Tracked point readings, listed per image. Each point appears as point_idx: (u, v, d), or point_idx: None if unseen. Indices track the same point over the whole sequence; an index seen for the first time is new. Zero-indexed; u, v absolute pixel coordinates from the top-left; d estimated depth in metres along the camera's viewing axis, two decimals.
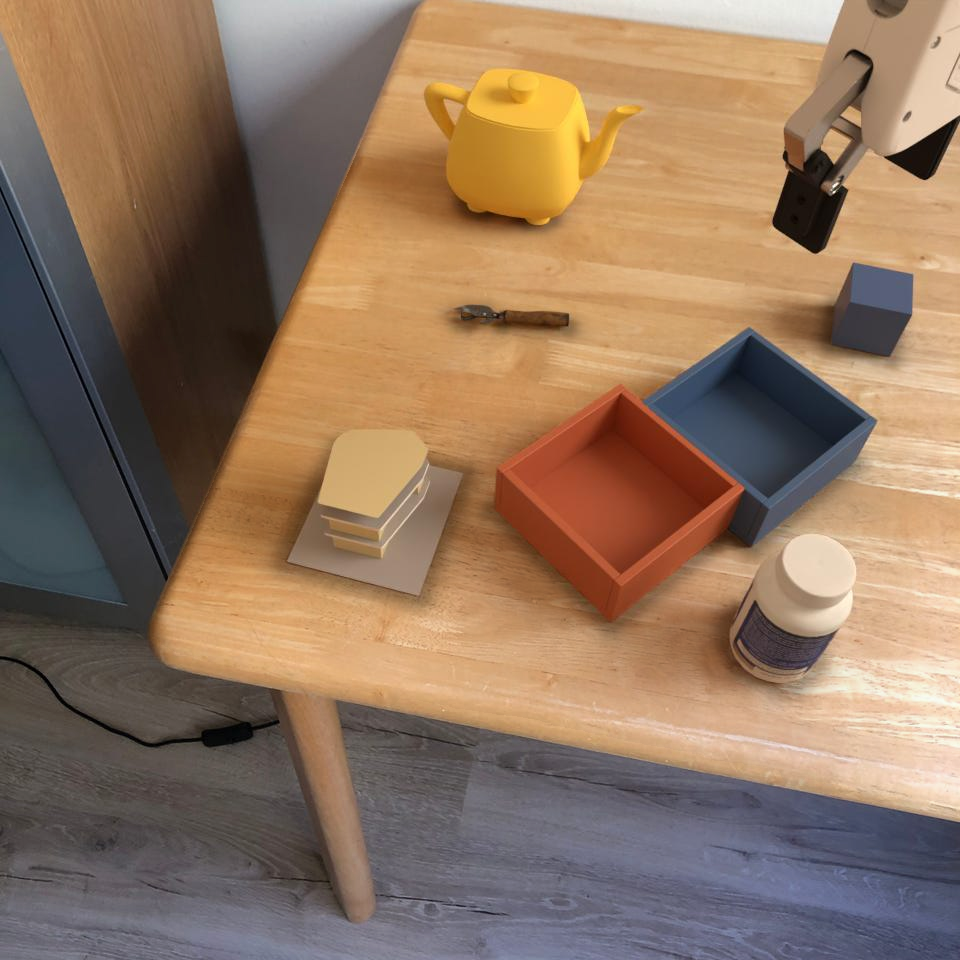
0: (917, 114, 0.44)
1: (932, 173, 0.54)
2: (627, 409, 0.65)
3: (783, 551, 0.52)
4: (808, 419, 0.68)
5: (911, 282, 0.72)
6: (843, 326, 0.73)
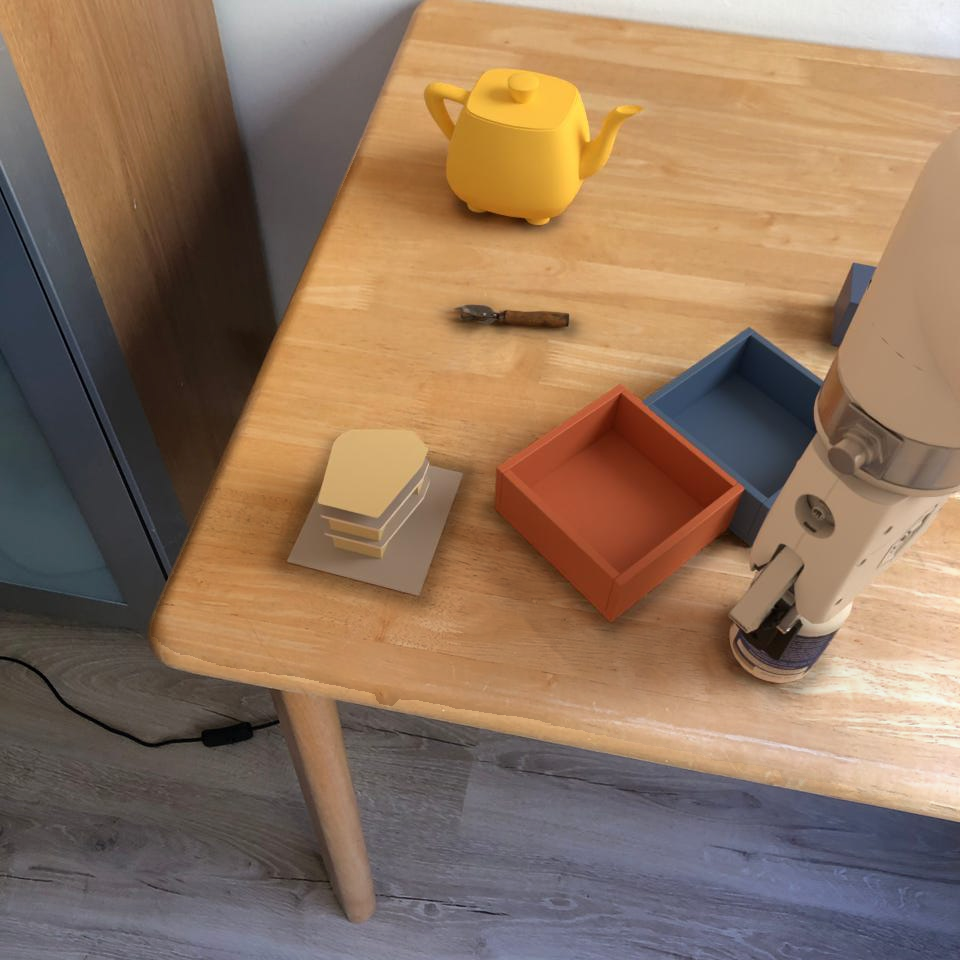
0: (848, 595, 0.46)
1: None
2: (627, 409, 0.65)
3: None
4: (808, 419, 0.68)
5: None
6: (843, 326, 0.73)
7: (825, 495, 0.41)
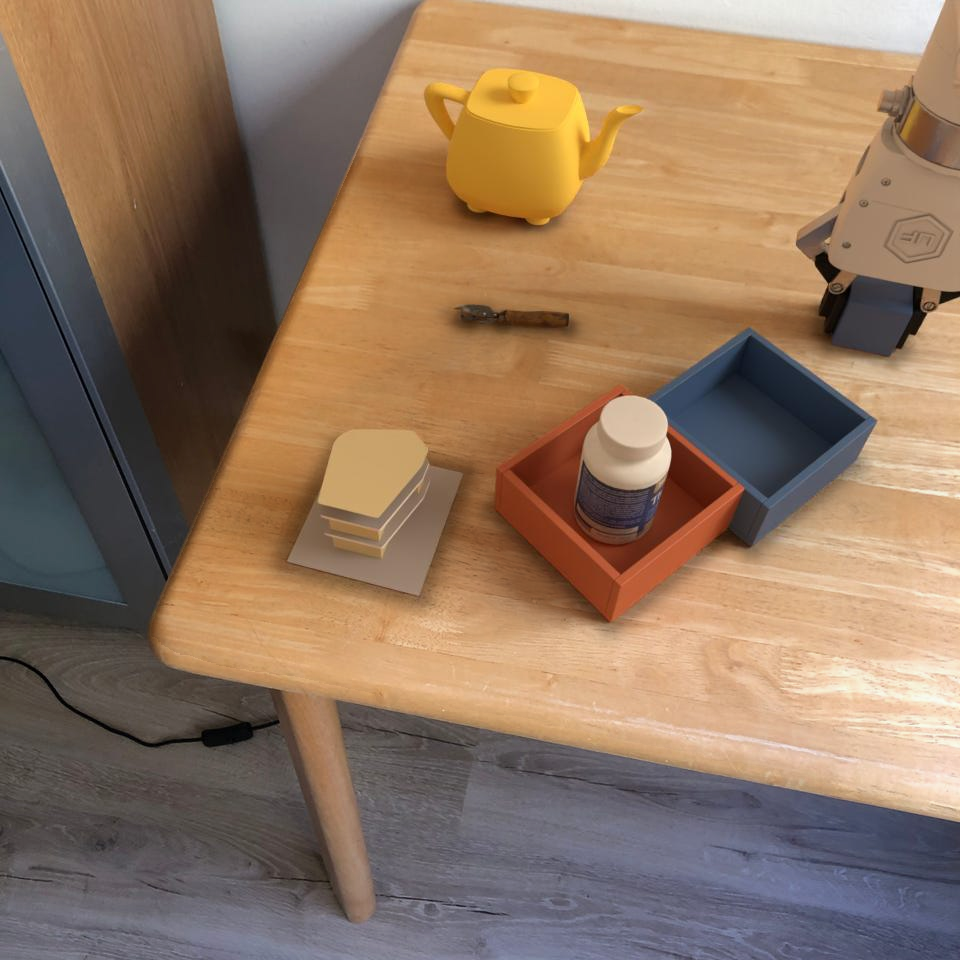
0: (857, 250, 0.67)
1: (897, 345, 0.74)
2: None
3: (602, 410, 0.57)
4: (808, 419, 0.68)
5: None
6: (843, 326, 0.73)
7: (872, 143, 0.63)
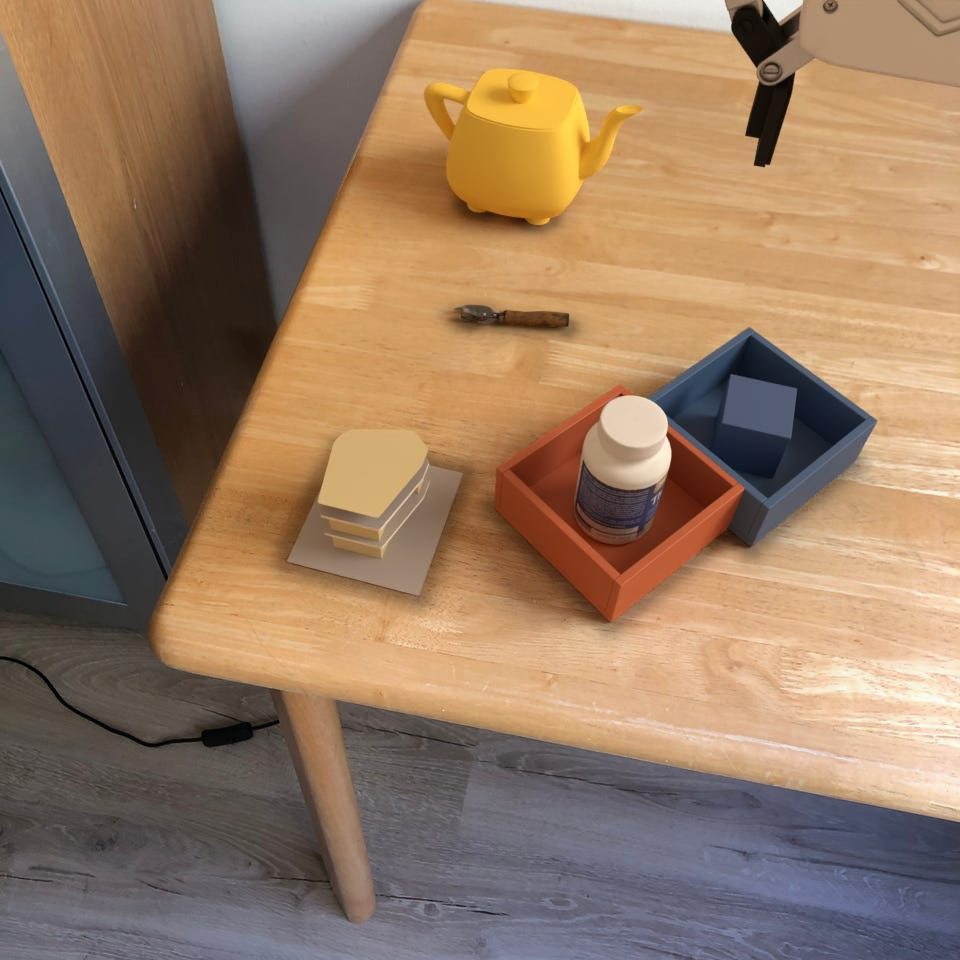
0: (850, 14, 0.37)
1: None
2: None
3: (602, 410, 0.57)
4: (808, 419, 0.68)
5: (793, 398, 0.64)
6: (718, 446, 0.65)
7: None
